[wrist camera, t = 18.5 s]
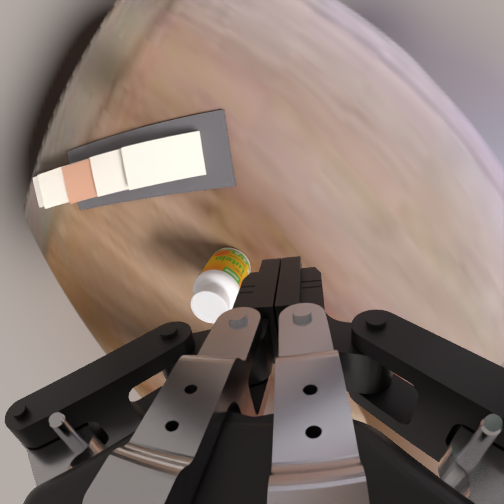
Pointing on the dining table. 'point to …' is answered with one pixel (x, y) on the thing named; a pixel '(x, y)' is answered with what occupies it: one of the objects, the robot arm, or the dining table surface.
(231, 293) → the supplement bottle
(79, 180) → the domino
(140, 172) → the domino
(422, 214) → the dining table surface
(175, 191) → the mat
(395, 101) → the dining table surface
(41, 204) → the domino
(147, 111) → the dining table surface
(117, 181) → the domino
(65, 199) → the domino
